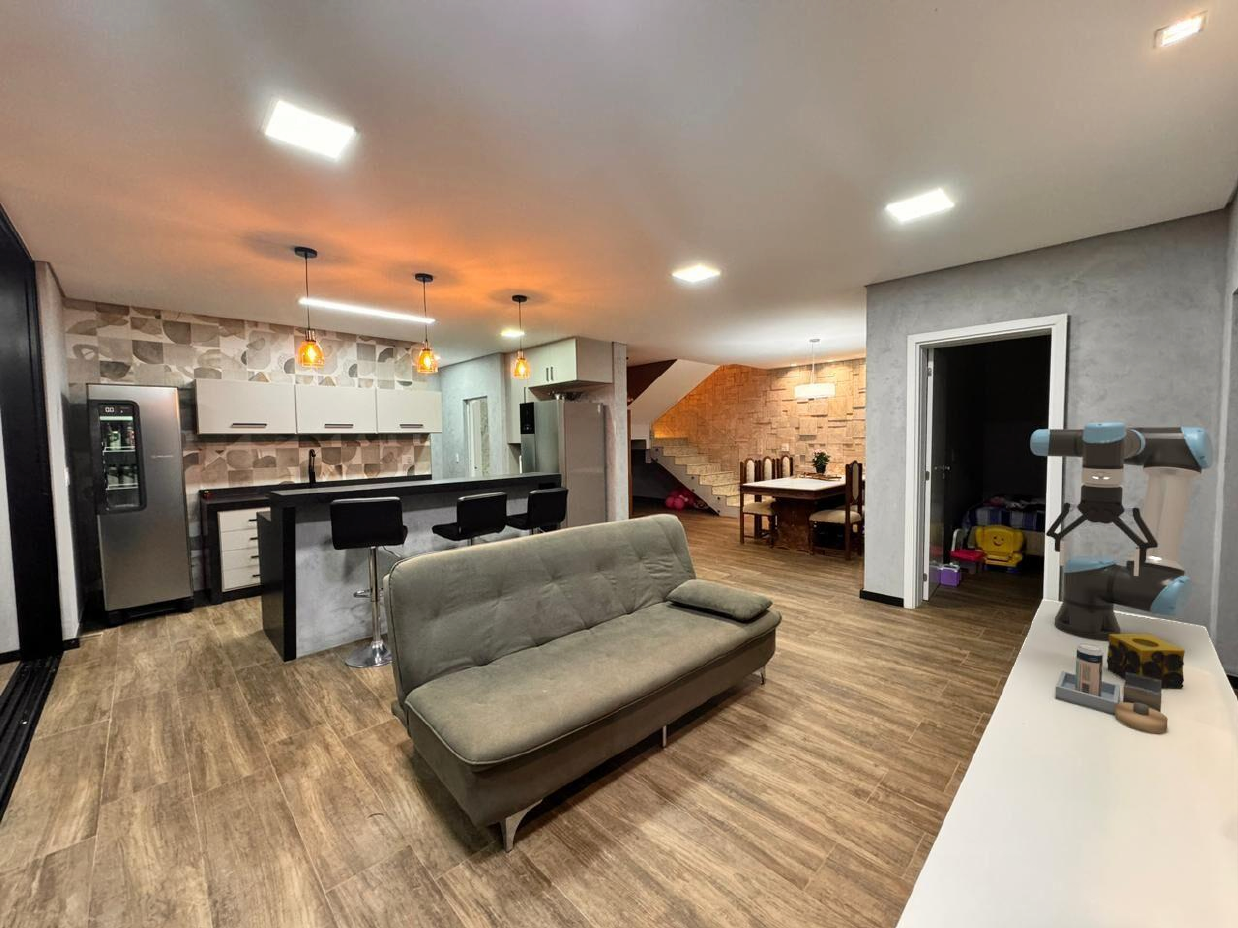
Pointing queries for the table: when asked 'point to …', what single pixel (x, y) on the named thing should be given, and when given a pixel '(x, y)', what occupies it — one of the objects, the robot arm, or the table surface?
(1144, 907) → the table surface
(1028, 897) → the table surface
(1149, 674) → the yellow holed block
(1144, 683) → the bracket
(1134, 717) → the disc
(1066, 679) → the tray
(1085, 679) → the beer can
